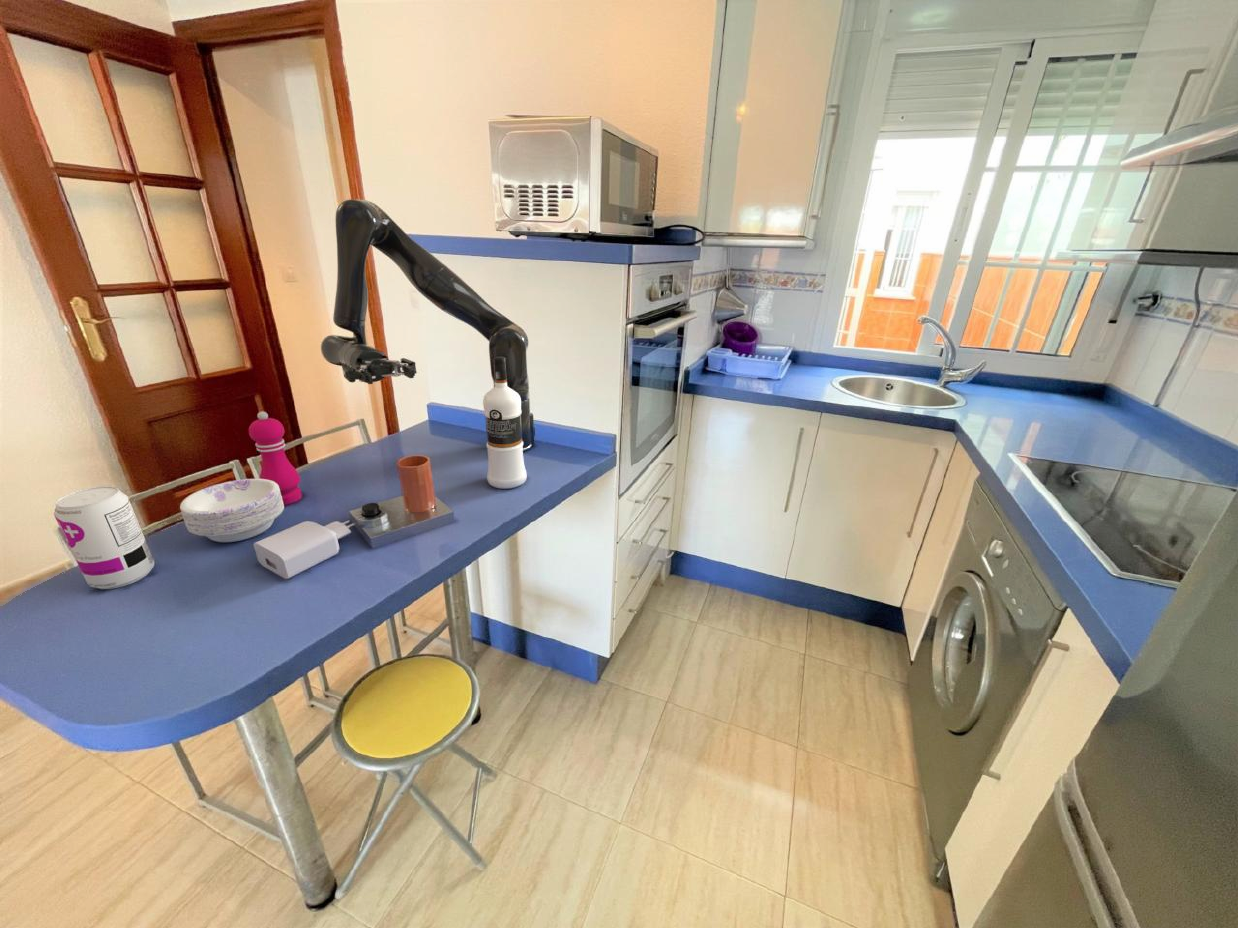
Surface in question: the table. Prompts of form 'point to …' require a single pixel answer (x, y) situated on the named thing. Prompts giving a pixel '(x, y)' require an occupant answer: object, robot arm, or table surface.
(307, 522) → the charger
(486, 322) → the robot arm
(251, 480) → the paper bowls
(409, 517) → the scale
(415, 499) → the cup
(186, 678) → the table surface
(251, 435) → the pepper mill
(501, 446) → the vodka
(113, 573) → the supplement can
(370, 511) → the button
